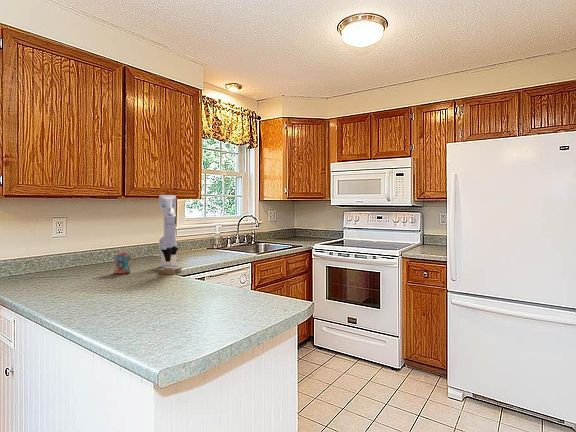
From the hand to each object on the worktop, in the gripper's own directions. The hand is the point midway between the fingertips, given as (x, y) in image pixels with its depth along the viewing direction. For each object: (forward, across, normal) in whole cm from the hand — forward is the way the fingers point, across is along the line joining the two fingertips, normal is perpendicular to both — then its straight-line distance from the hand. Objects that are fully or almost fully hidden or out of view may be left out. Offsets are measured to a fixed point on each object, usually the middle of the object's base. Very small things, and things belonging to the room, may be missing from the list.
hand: (170, 260), depth 205 cm
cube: (+2, 0, 0) cm, 2 cm away
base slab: (+7, 0, 0) cm, 7 cm away
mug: (+7, +6, -24) cm, 25 cm away
